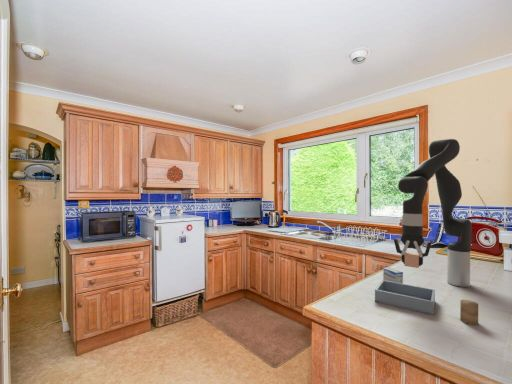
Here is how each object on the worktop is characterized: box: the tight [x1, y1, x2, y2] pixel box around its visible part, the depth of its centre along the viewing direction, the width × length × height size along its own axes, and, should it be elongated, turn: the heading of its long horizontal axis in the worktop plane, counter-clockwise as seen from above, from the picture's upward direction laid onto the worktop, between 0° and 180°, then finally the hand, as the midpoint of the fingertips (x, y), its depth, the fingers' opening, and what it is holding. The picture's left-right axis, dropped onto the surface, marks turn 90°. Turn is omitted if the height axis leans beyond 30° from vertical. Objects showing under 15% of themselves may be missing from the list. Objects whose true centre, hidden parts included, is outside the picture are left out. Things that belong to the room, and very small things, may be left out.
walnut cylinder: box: [459, 299, 479, 326], centre depth 95 cm, size 5×5×7 cm
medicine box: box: [382, 267, 404, 284], centre depth 128 cm, size 8×4×9 cm, turn 21°
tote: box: [374, 279, 436, 316], centre depth 112 cm, size 16×21×5 cm
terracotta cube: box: [404, 251, 420, 269], centre depth 110 cm, size 5×5×5 cm
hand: (412, 264), depth 110 cm, fingers closed on terracotta cube, 5 cm apart
